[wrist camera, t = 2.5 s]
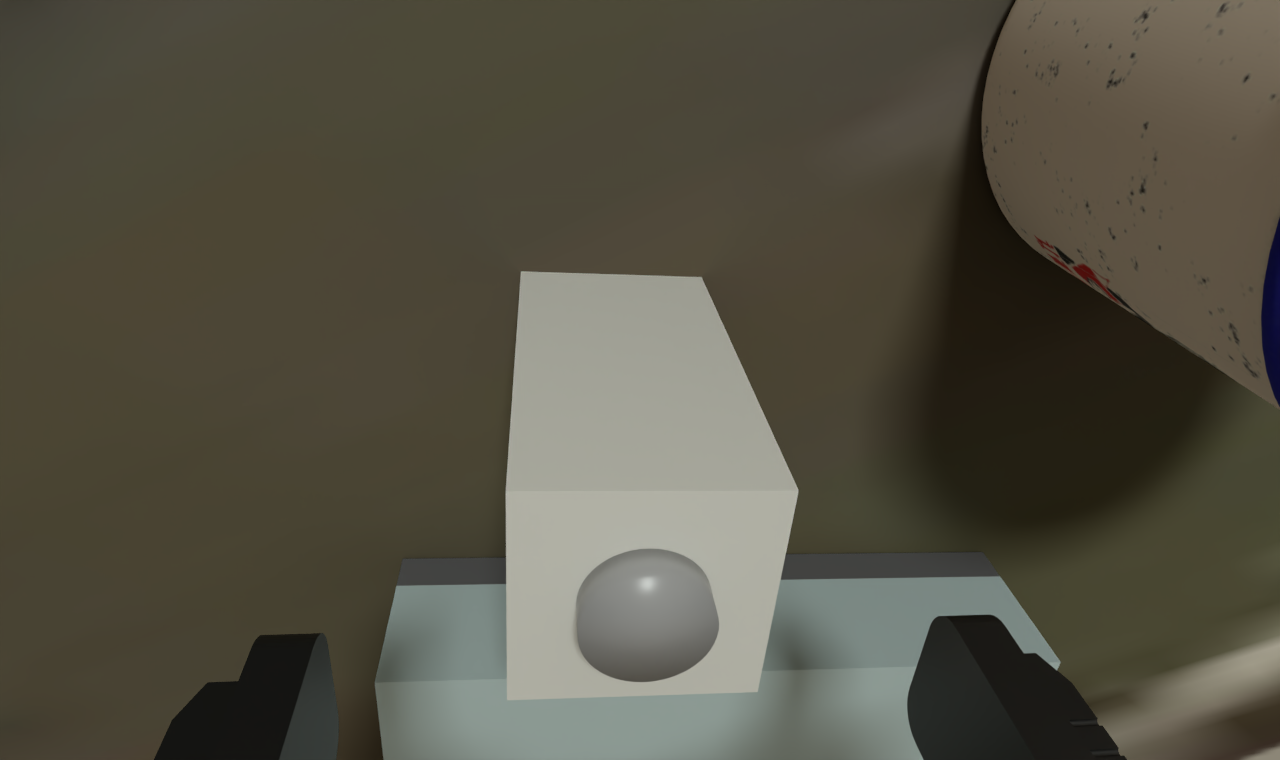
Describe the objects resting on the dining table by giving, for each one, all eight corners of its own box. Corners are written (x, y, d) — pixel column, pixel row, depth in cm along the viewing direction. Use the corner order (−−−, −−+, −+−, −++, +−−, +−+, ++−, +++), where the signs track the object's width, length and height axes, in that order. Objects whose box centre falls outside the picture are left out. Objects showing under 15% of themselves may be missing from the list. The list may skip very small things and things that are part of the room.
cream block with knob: (701, 277, 18) (810, 517, 11) (683, 428, 20) (766, 723, 13) (521, 271, 18) (504, 519, 10) (520, 427, 20) (505, 733, 12)
